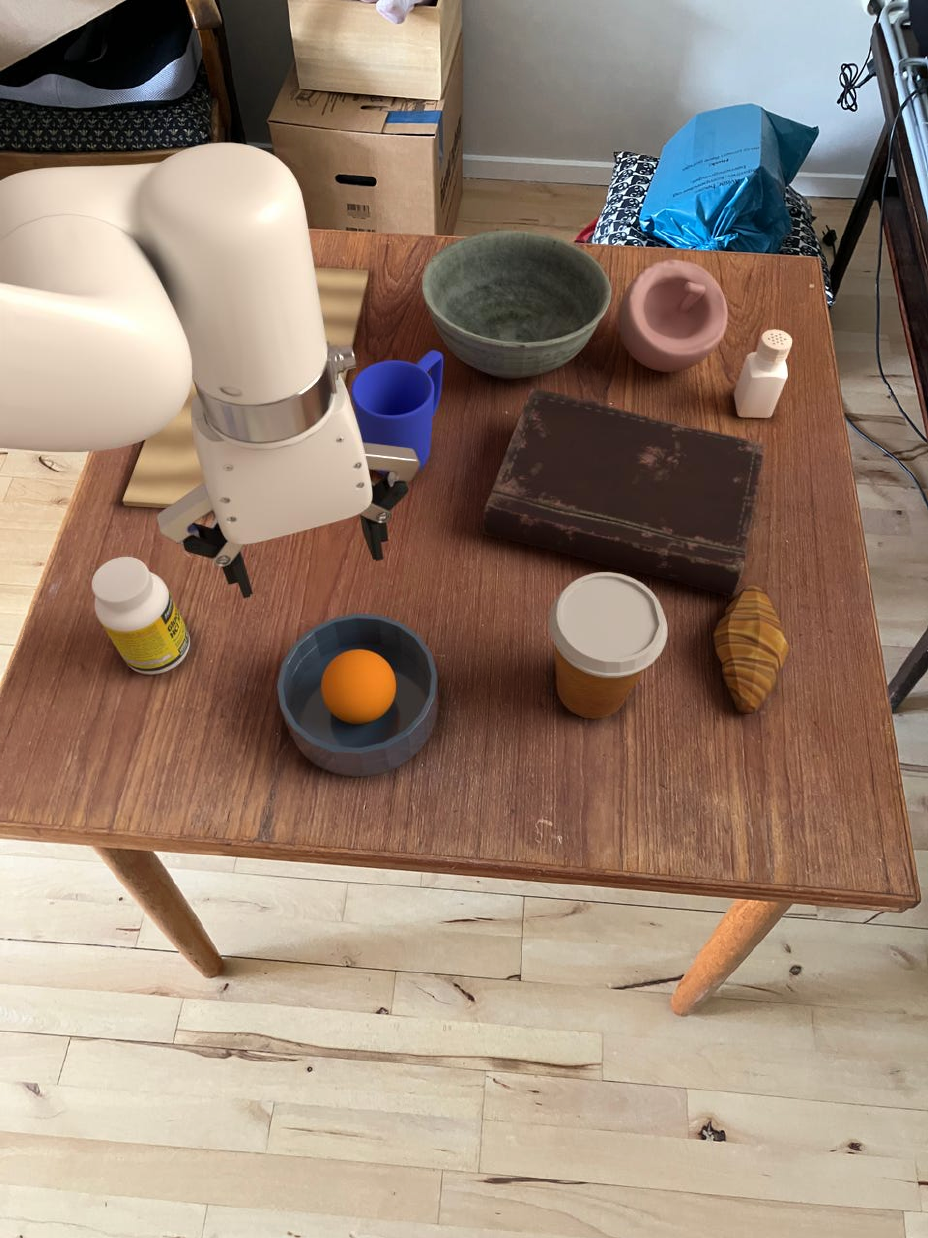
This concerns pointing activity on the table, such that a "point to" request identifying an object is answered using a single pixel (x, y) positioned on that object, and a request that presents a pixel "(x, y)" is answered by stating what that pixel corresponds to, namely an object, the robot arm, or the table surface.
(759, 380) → the salt shaker
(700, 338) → the mortar and pestle
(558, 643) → the disposable coffee cup
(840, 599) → the table surface
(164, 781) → the table surface
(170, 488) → the serving board
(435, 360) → the mug
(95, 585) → the pill bottle
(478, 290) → the bowl
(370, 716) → the orange
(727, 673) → the croissant
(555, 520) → the diary
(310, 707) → the fruit bowl
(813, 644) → the table surface
